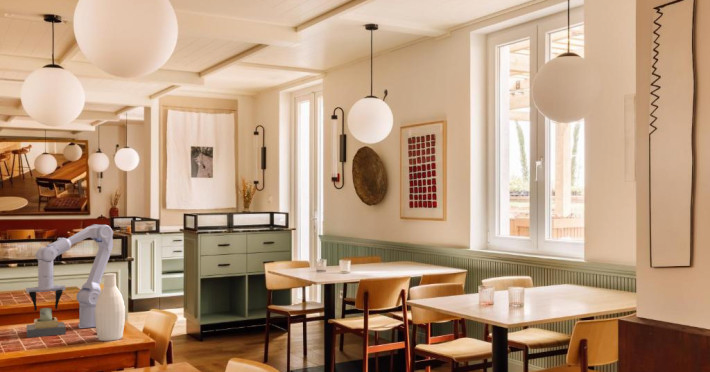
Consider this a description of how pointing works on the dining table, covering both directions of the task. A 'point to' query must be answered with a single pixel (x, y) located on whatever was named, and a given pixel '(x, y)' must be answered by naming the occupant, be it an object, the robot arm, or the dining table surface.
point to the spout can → (46, 314)
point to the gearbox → (46, 328)
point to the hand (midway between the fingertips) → (45, 309)
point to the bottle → (110, 311)
